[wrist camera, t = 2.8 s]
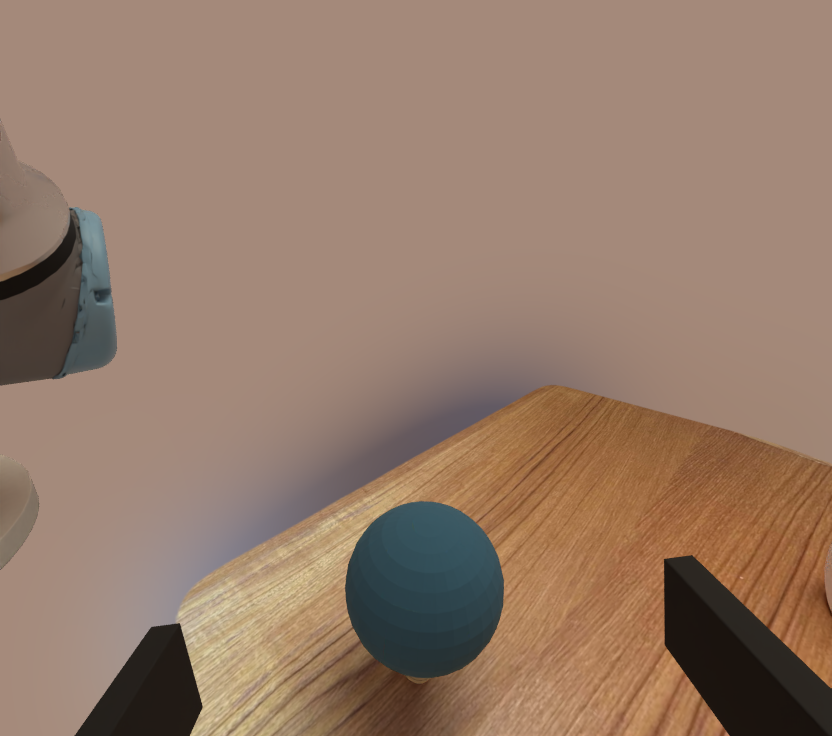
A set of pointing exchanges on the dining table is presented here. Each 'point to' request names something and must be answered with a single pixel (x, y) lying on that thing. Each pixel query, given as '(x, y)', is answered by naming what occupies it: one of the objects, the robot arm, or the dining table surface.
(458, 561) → the dark teal ovoid
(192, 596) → the dining table surface
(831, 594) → the mug
